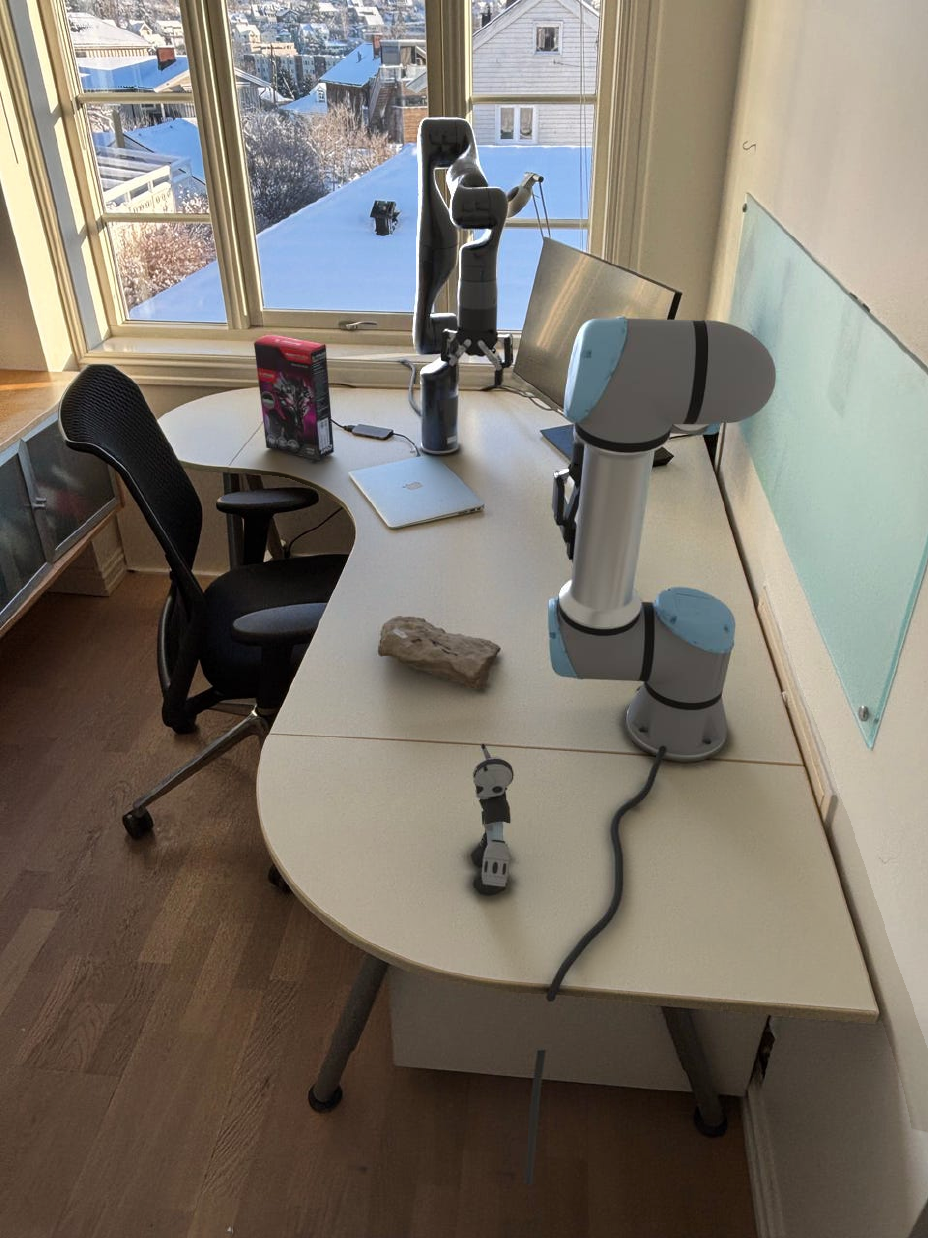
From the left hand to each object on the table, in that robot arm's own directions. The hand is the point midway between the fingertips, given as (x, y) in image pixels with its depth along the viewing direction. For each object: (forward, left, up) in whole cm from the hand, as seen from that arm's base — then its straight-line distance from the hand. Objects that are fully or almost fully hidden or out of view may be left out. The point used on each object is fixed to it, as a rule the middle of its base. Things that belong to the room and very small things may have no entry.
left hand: (476, 384), depth 184 cm
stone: (+51, -15, -30) cm, 61 cm away
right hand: (+32, +15, -22) cm, 42 cm away
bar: (+23, +16, -23) cm, 36 cm away
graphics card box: (-42, -37, -30) cm, 64 cm away
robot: (+97, -14, -30) cm, 102 cm away
